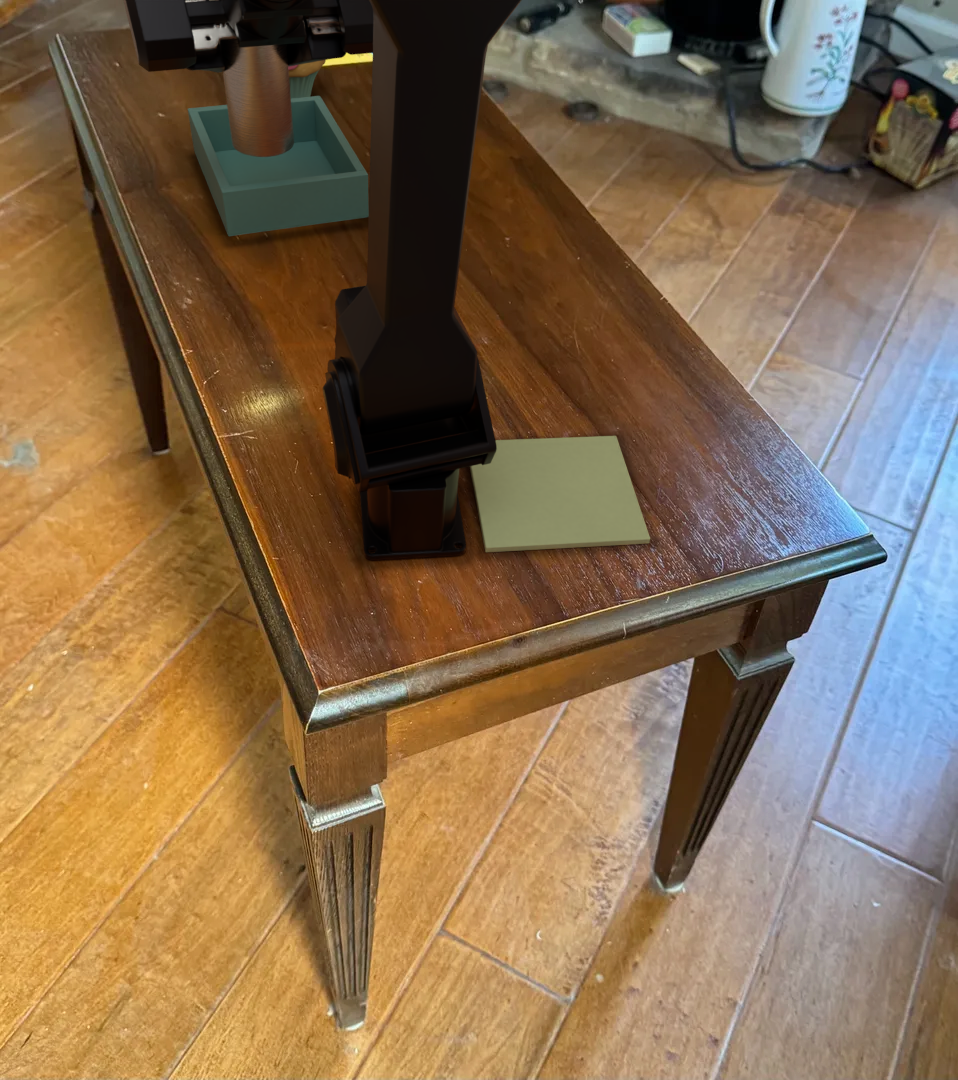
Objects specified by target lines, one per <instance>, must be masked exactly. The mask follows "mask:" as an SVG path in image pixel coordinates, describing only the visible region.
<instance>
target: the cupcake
mask: <svg viewBox="0 0 958 1080" xmlns="http://www.w3.org/2000/svg"><path fill="white" fill-rule="evenodd" d="M326 61H327V60H322V61H316V62H310V63H304V64H299V65H294V66H288V70H289V83H290V96H291V99H292V98H302V97H311V95H312V90H313V86H314V83H315V79H316V77H317V75H318V73H319V71H320V70H321V69H322V68H323V66H324V65H325V63H326Z"/></svg>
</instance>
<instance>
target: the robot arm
mask: <svg viewBox="0 0 958 1080" xmlns="http://www.w3.org/2000/svg"><path fill="white" fill-rule="evenodd" d="M122 1H123V5H124V9H125V13H126V17H127V22H128V25H129V26H128V27H129V31H130V32H131V38H132V43H133V46H134V50H135V55H136V59H137V63H138V65H139V66H140V67H141V68H143V69H144V70H145V71H146V72H148V73H152V72H164V71H165V72H166V71H176V70H185V69H186V70H188V71H191V72H192V71H193V72H194V71H206V72H213V73H223V71H224V62H223V58H222V53H221V49H220V45H219V40H222V39H235V38H237V41H238V45H239V48H242V47H255V46H267V45H280V44H287V57H288V66H294V65H299V64H304V63H310V62H316V61H322V60H326V61H328V60H333V59H342V58H345V56H346V54H348V55H351V56H353V55H354V56H355V55H365V54H372V67H371V69H372V70H371V106H370V107H371V108H370V109H371V110H370V144H369V145H370V147H369V148H370V149H369V181H368V205H369V217H368V225H367V226H368V227H367V232H368V233H367V262H366V263H367V264H366V265H367V266H366V268H367V269H366V284H365V285H360V286H355V287H348V288H342V289H340V291H339V292H338V295H337V297H336V299H335V301H334V310H335V311H334V313H335V336H334V346H335V347H334V358H332V359H329V360H328V361H327V372H325V381H326V382H325V383H324V385H323V386H322V395H323V400H324V404H325V409H326V414H327V420H328V425H329V429H330V434H331V439H332V440H331V441H332V444H333V451H334V452H333V454H334V467H335V470H336V472H337V474H339V475H341V476H344V477H346V478H348V479H349V480H352V482H353V484H354V486H355V488H356V490H357V493H359V502H360V513H361V528H362V543H363V545H362V546H363V555H364V558H366V559H367V560H369V561H378V560H379V561H380V560H381V561H382V560H399V559H416V558H417V559H418V558H434V557H452V556H462V555H463V554H465V553H466V550H467V541H466V535H465V530H464V523H463V516H462V511H461V505H460V499H459V492H458V490H459V476H460V469H464V468H470V466H474V465H478V464H482V465H486V464H490V463H491V461H492V459H493V457H494V455H495V453H496V450H497V446H496V441H495V440H496V436H495V432H494V427H493V423H492V417H491V413H490V409H489V408H490V407H489V404H488V403H489V402H488V399H487V395H486V390H485V385H484V380H483V375H482V370H481V366H480V365H481V364H480V361H479V357H478V350H477V348H476V346H475V344H474V342H473V340H472V338H471V335H470V334H469V332H468V330H467V328H466V327H465V324H464V322H463V320H462V318H461V316H460V314H459V313H458V310H457V308H456V307H455V305H456V297H457V289H458V282H459V281H458V280H459V273H460V267H461V266H460V265H461V259H462V258H461V257H462V256H461V255H462V250H463V239H464V233H465V225H466V217H467V209H468V202H469V201H468V200H469V193H470V185H471V177H472V169H473V160H474V155H475V154H474V153H475V145H476V137H477V128H478V121H479V112H480V105H481V104H480V103H481V97H482V91H483V90H482V89H483V81H484V74H485V67H486V58H487V52H488V48H489V44H490V43H491V41H492V40H493V38H494V37H495V36H496V35H497V34H498V33H499V31H500V29H501V28H502V27H503V26H504V24H505V23H506V22H507V20H508V19H509V17H510V16H511V15H512V13H513V12H514V11H515V10H516V8H517V7H518V6H519V5H520V3H521V2H522V0H122ZM223 25H225V27H223ZM228 25H230V27H229V26H228ZM217 26H219V27H217Z"/></svg>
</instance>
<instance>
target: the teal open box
mask: <svg viewBox="0 0 958 1080" xmlns="http://www.w3.org/2000/svg"><path fill="white" fill-rule="evenodd" d="M291 109H292V121H293V134H294V145H293V147H292V148H291V149H290V150H289V151H287V152H285V153H283V154H280V155H277V156H271V157H255V156H249V155H246V154H243V153H241V152H239V151H237V150H236V149H235V148H234V147H233V145H232V139H231V131H230V123H229V116H228V108H227V104H221V105H211V106H210V105H209V106H200V107H190V108H187V115H188V121H189V127H190V128H189V129H190V134H191V139H192V140H191V141H192V147H193V151H194V154H195V157H196V159H197V161H198V164H199V166H200V169H201V172H202V174H203V176H204V179H205V181H206V184H207V186H208V189H209V191H210V194H211V197H212V199H213V201H214V204H215V207H216V209H217V211H218V214H219V216H220V219H221V222H222V224H223V227H224V229H225V231H226V234H227V236H228V237H233V236H240V235H248V234H255V233H263V232H269V231H277V230H285V229H293V228H299V227H306V226H312V225H321V224H327V223H336V222H341V221H342V222H343V221H350V220H356V219H357V220H358V219H364V218H365V219H366V218H369V174H368V172H367V170H366V169H365V167H364V166H363V164H362V163H361V161H360V159H359V157H358V156H357V154H356V152H355V151H354V149H353V148H352V146H351V144H350V143H349V141H348V139H347V138H346V136H345V134H344V133H343V131H342V129H341V128H340V126H339V124H338V123H337V122H336V120H335V118H334V116H333V115H332V113H331V111H330V109H329V108H328V106H327V105H326V103H325V101H324V100H323V98H322V97H321V96H320V95H314V96H313V95H312V96H310V97H302V98H292V99H291Z"/></svg>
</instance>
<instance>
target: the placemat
mask: <svg viewBox="0 0 958 1080" xmlns="http://www.w3.org/2000/svg"><path fill="white" fill-rule="evenodd" d="M495 441H496V446H497V450H496V453H495V455H494V457H493V459H492V461H491V463H490V464H486V465H482V464H478V465H474V466H469V469H470V470H469V471H470V475H471V482H472V487H473V492H474V497H475V498H474V499H475V503H476V509H477V514H478V520H479V525H480V531H481V536H482V541H483V547H484V552H485V553H500V552H516V551H517V552H519V551H536V550H537V551H538V550H554V549H573V548H590V547H591V548H593V547H612V546H628V545H644V544H650V542H651V537H650V534H649V530H648V528H647V525H646V521H645V519H644V515H643V512H642V508H641V506H640V503H639V500H638V497H637V494H636V491H635V488H634V486H633V482H632V479H631V476H630V474H629V470H628V467H627V465H626V460H625V458H624V455H623V452H622V449H621V447H620V446H621V445H620V443H619V440H618V437H617V435H595V436H573V437H571V436H570V437H545V438H543V437H542V438H518V439H517V438H515V439H495Z"/></svg>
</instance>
